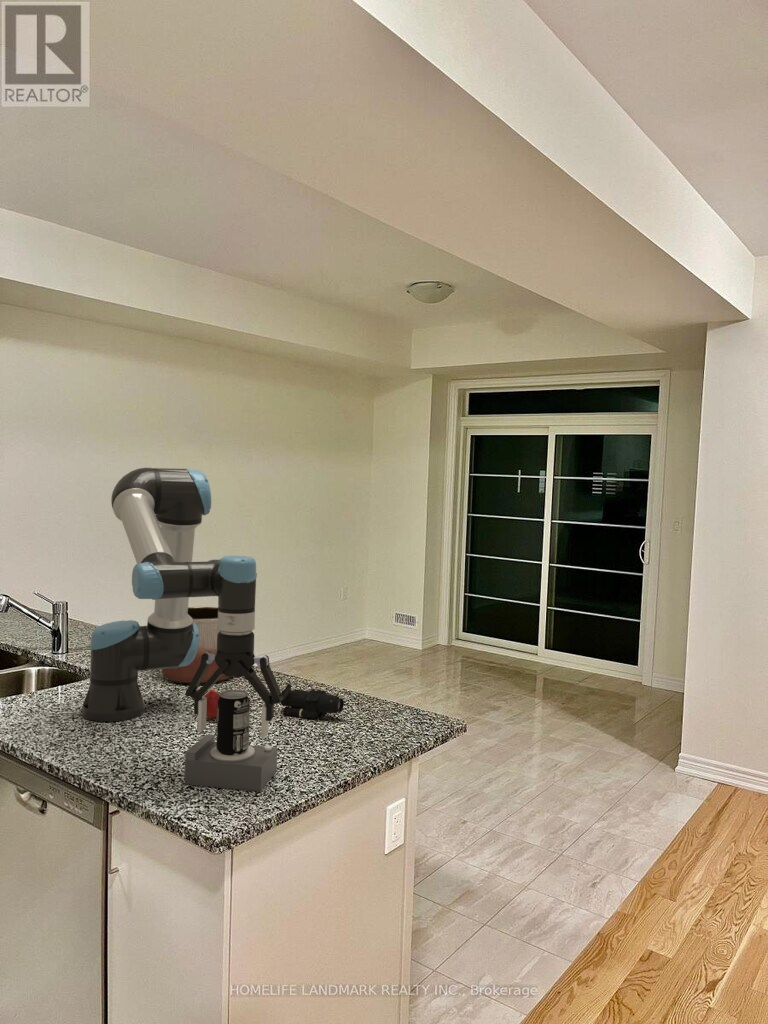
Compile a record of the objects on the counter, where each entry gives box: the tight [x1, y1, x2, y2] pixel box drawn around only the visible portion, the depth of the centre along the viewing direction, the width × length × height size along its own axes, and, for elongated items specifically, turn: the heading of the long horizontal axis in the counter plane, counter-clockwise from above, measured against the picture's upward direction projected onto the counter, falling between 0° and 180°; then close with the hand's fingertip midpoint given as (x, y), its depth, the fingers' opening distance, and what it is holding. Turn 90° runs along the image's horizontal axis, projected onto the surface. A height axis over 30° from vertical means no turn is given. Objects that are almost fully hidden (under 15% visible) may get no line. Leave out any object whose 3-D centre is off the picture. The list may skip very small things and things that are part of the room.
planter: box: [161, 606, 231, 685], centre depth 234 cm, size 22×22×20 cm
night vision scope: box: [279, 683, 345, 720], centre depth 198 cm, size 8×18×10 cm
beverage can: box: [216, 689, 251, 755], centre depth 156 cm, size 7×7×12 cm
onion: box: [203, 687, 220, 720], centre depth 193 cm, size 6×6×8 cm
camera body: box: [184, 734, 278, 792], centre depth 156 cm, size 16×11×6 cm
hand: (233, 733), depth 156 cm, fingers open, 13 cm apart
